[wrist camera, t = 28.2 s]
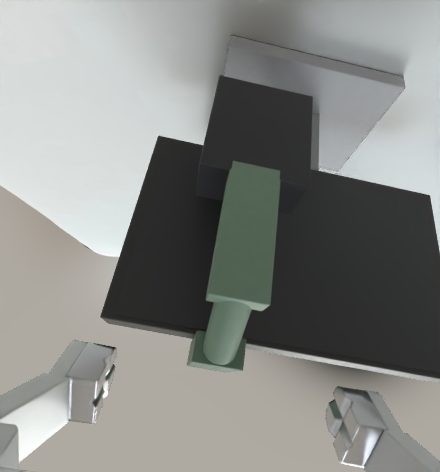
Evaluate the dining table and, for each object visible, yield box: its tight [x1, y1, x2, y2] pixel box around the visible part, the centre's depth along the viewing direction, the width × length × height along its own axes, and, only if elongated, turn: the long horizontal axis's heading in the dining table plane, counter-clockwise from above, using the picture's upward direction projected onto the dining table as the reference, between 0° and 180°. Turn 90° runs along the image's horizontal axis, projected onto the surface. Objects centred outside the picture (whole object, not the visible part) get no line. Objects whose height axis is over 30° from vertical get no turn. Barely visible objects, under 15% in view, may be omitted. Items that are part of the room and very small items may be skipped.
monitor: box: [101, 35, 440, 382], centre depth 22 cm, size 10×20×20 cm, turn 82°
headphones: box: [187, 75, 313, 372], centre depth 19 cm, size 13×5×14 cm, turn 172°
